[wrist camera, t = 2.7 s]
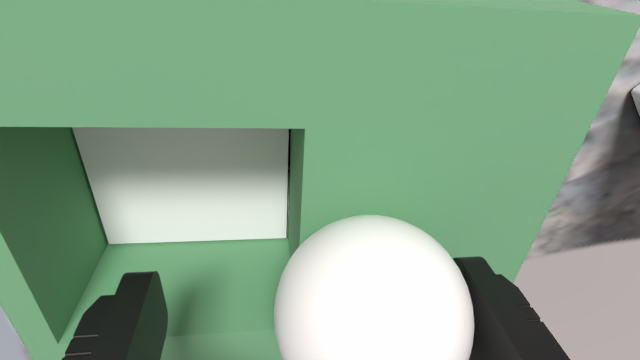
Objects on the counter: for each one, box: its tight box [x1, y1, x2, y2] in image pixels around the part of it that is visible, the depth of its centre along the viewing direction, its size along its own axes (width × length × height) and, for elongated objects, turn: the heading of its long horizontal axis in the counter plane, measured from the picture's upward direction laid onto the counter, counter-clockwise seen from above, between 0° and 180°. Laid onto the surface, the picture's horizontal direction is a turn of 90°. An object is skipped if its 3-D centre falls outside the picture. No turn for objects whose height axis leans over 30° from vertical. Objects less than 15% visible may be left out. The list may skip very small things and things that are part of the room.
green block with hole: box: [0, 0, 640, 360], centre depth 14 cm, size 17×14×5 cm
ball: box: [274, 215, 474, 360], centre depth 10 cm, size 5×5×5 cm
